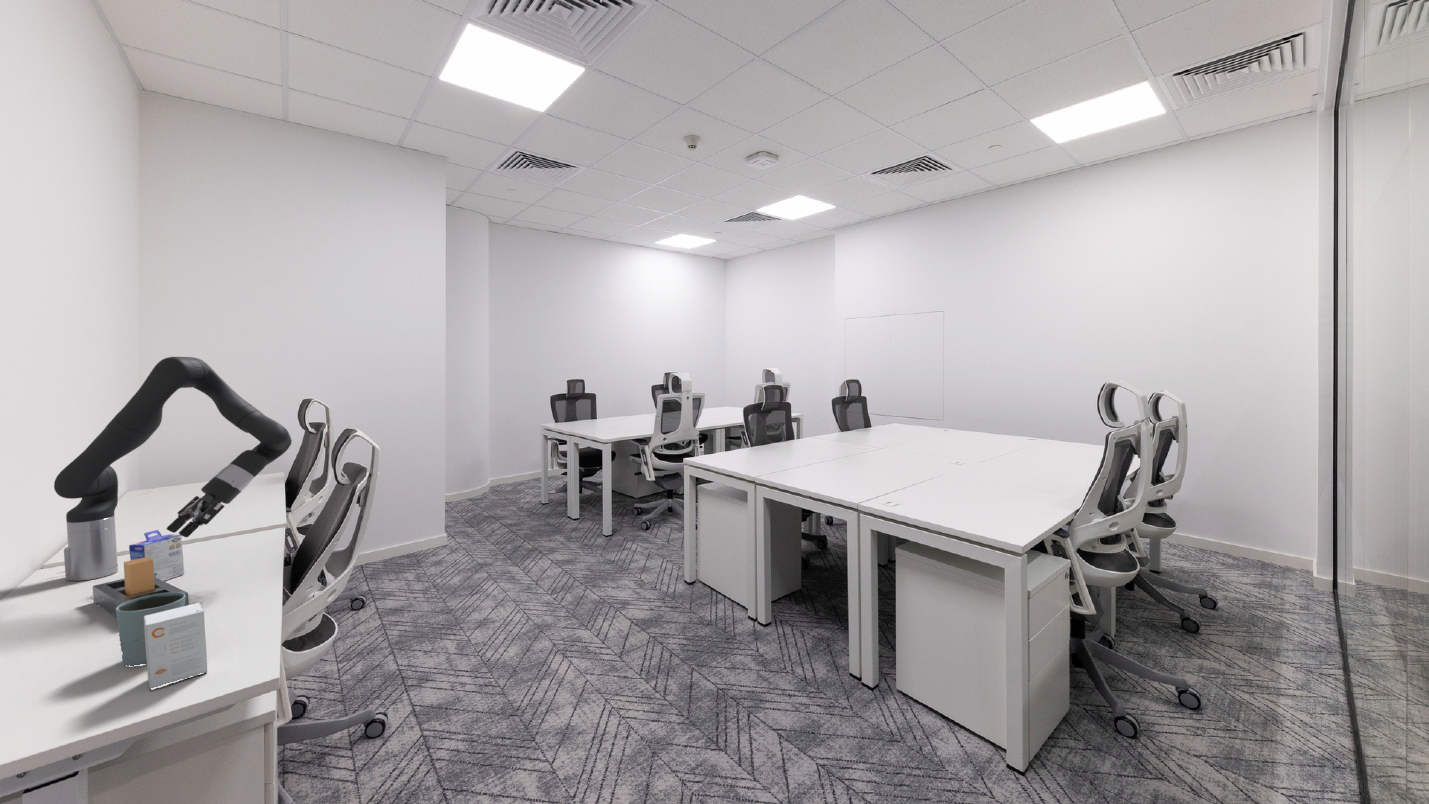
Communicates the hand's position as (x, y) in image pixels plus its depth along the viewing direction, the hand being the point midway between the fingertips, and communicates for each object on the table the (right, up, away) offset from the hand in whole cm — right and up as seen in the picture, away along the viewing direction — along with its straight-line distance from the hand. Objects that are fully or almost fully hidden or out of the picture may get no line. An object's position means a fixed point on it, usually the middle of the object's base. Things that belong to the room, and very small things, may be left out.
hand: (176, 533), depth 142 cm
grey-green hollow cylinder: (+26, -19, -29) cm, 43 cm away
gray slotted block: (-4, -17, -5) cm, 19 cm away
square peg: (-3, -16, -6) cm, 18 cm away
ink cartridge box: (-17, -17, +12) cm, 27 cm away
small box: (+38, -19, -37) cm, 57 cm away
